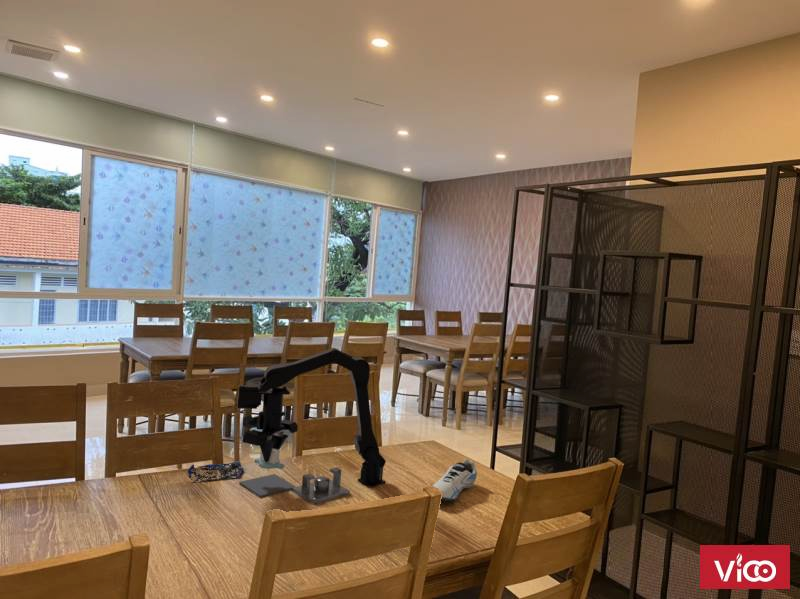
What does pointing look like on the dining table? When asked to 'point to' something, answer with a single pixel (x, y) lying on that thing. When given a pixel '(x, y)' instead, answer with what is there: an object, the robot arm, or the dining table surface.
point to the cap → (270, 460)
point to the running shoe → (457, 479)
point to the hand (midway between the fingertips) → (269, 460)
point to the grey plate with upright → (321, 487)
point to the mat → (267, 485)
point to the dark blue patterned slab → (219, 466)
